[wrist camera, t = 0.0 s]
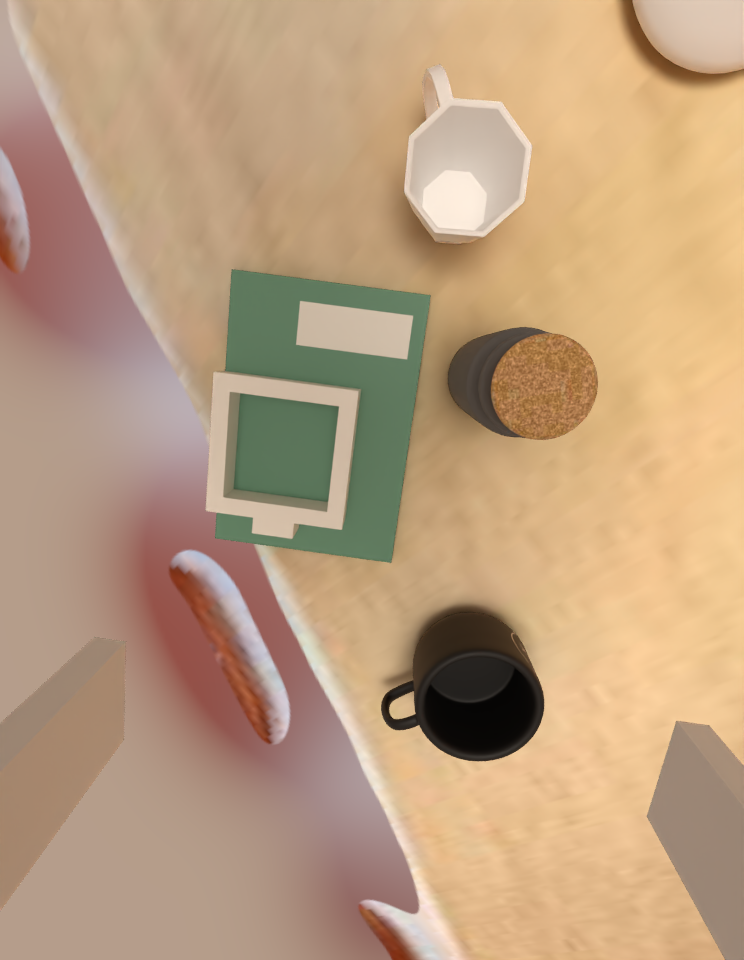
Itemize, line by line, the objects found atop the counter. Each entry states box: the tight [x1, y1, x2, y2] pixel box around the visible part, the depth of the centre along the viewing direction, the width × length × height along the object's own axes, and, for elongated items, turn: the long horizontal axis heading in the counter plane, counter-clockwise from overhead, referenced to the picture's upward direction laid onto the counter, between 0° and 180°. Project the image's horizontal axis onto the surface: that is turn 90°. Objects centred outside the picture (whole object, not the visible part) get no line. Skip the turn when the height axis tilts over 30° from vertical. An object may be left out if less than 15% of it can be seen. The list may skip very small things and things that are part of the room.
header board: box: [206, 269, 431, 563], centre depth 37 cm, size 20×14×3 cm
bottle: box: [448, 327, 598, 440], centre depth 30 cm, size 6×6×15 cm
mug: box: [381, 612, 544, 761], centre depth 39 cm, size 12×9×7 cm
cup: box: [404, 64, 532, 244], centre depth 31 cm, size 7×10×8 cm
